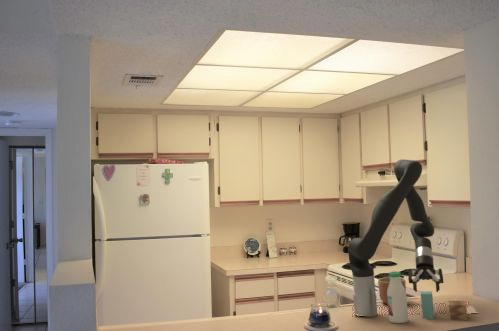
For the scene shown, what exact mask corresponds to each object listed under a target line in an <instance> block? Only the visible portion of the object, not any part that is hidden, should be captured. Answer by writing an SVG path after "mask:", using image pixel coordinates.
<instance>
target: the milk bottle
mask: <svg viewBox="0 0 499 331" xmlns="http://www.w3.org/2000/svg"><path fill="white" fill-rule="evenodd" d="M401 276H402V275H401V272H400V271H390V272H389V273H388V277H389V278H390V283H389V286H388V289H387V301H388V304H387V311H388V320H389V322H390V323H392V324H405V323H408V322H409V312H408V310H409V309H408V300H407V290H406V291H405V288H404V286H403V285H402V282H401V279H400V278H402V277H401Z"/></svg>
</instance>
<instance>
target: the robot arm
mask: <svg viewBox="0 0 499 331" xmlns="http://www.w3.org/2000/svg"><path fill="white" fill-rule="evenodd" d="M393 172H394V176H395V178H396V180H397V183H396V185H395V186H394V187H393V188H391V189H389V190H388V191H386V193H384V194H383V195H382V196H381V197H380V198H379V200H378V201H377V203H376V204H375V206H374V208H373V210H372V212H371V219H370V225H369V227H368V229H367V231H366V232H365V234H364V236H362V237H355V238H352V240H350V242H349V243H348V246H347V249H348V250H347V251H348V253H347V254H348V262H349V269H350V270H351V273H352V285H353V294H352V297H353V308H354V315H355V314H358V315H362V316H373V317H375V315H376V316H377V315H378V306H377V305H378V304H377V292H376V283H375V281H376V280H375V272H374V271H375V270H374V267H373V266H372V265H371V264H370V262H369V261H370V260H371V259H372V258H373V257H374V255H375V253H376V252H377V249H378V247H379V246H380V243H381V241H382V238H383V236H384V235H385V233H386V231H387V230H388V228H389V226H390V225H391V223H392V221H393V219H394V218H395V216H396V214H397V213H398V211H399V210H400V207H401V205H402V204H403V202H404V200H405V201H406V204H407V207H408V211H409V214H410V219H411V220H412V221H413V222H415V223H413V224H411V225H410V234H411V236H412V238H413V240H414V245H415V246H414V248H415V256H414V257H415V259H414V260H415V270H413V269H412V268H409V269H408V276H407V277H408V278H407V279H408V283H409V284H412V288H413V291H415V293H418V285H417V283H419V282H420V280H422V281H425V280H427V281H429V280H431V281H432V282H434V283H435V289H436V290H435V291H436V293H438V292H439V291H440V290H441V288H440V284H444V275H443V270H442V268H438V269H435V265H434V254H433V251H432V250H433V249H432V241H431V240H430V237H432V236H434V234H435V227H434V225H433V223H432V222H431V220H430V219H429V217H428V215H427V212H426V207H425V204H424V201H423V200H422V197H421V195H419V193H418V192H417V190H416V188H415V187H414V186H415V185H416V183H417V182H418V181H419V179H420V178H421V175H422V172H423V165H422V164H421V162H419V161H417V160H412V159H399V160H397V161H396V162H395V164H394V167H393ZM435 274H437V275H438V276H439V279H438V277H437V276H436V275H435ZM414 275H415V276H414ZM413 276H414V278H413Z"/></svg>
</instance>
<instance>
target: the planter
mask: <svg viewBox="0 0 499 331" xmlns="http://www.w3.org/2000/svg"><path fill="white" fill-rule="evenodd" d="M400 279H401V282H402V285H403V286H404V288H405V291H406V292H407V290H406V289H407V288H406V287H407V286H406V284H407V282H406V279H405V278H403V277H401V278H400ZM389 283H390V278H389V276H387V277H380V278H379V279H377V285H378V293H379V294H378V295H379V298H380V300H381V302H383V303H384V304H386V305H388V301H387V289H388V286H389Z"/></svg>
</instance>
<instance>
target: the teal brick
mask: <svg viewBox="0 0 499 331" xmlns="http://www.w3.org/2000/svg"><path fill="white" fill-rule="evenodd" d="M420 302H421V312H422V314H421V316H422V319H435V310H434V308H435V307H434V298H433V291H430V290H429V291H427V290H425V291H421V290H420Z"/></svg>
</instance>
